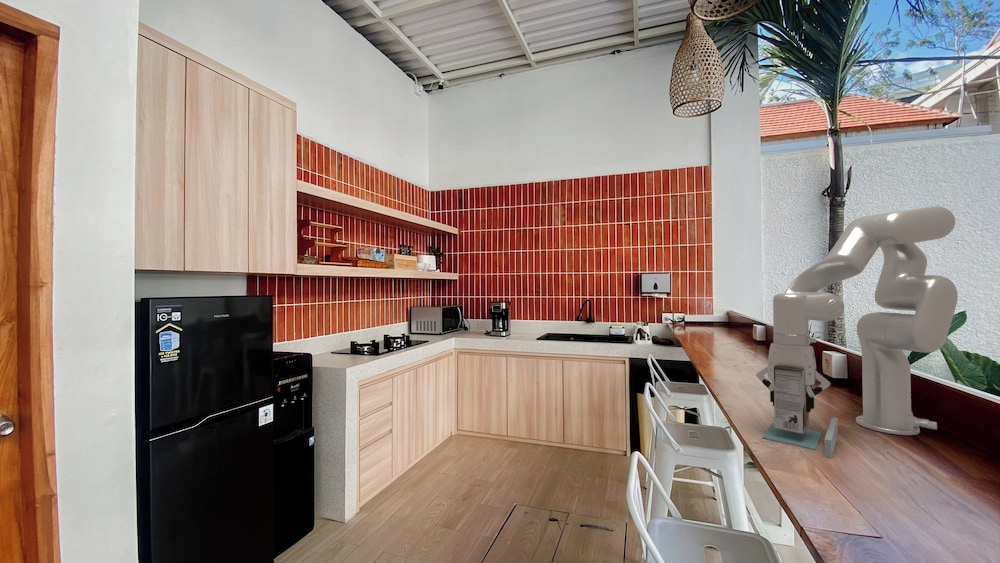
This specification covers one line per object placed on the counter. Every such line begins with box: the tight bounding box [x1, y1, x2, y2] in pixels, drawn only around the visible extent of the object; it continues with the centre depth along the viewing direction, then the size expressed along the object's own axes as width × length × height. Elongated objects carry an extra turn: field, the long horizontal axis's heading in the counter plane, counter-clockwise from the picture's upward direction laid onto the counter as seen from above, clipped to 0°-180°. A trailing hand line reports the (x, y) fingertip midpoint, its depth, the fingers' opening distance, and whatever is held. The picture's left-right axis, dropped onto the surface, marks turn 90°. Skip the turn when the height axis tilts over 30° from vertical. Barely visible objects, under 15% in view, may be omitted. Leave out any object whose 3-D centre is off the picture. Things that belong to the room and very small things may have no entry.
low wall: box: [824, 417, 839, 459], centre depth 99 cm, size 1×20×4 cm, turn 136°
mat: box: [761, 422, 823, 451], centre depth 104 cm, size 11×14×1 cm
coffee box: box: [773, 365, 810, 434], centre depth 104 cm, size 9×6×16 cm
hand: (791, 407), depth 104 cm, fingers closed on coffee box, 6 cm apart
